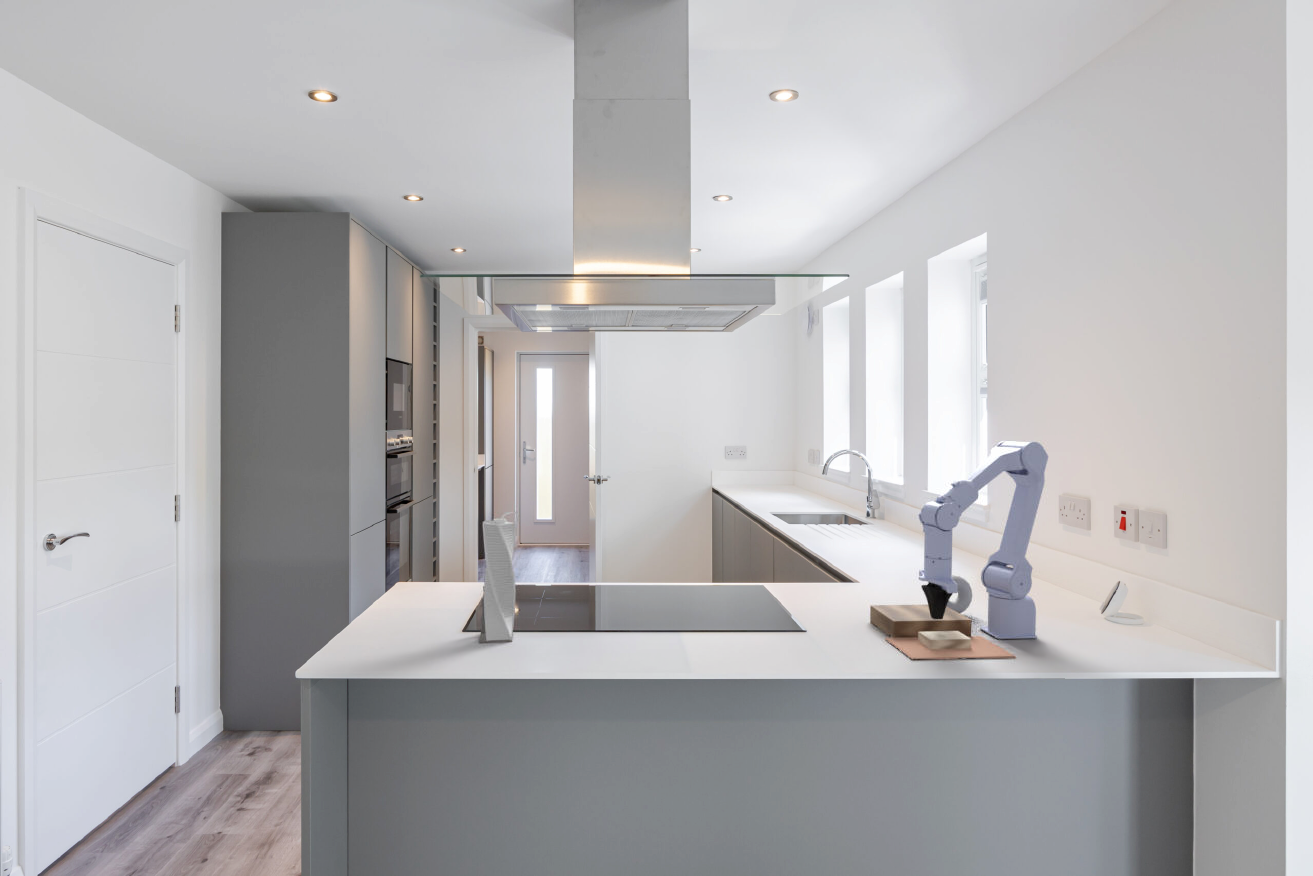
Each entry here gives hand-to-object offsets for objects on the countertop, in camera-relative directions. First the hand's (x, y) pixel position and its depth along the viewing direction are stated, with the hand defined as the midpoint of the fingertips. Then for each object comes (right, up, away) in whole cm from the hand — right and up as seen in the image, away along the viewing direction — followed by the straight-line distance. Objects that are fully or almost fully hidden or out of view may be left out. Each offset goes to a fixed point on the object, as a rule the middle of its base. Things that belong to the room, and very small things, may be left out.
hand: (936, 618), depth 166 cm
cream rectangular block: (0, -3, -4) cm, 5 cm away
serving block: (-1, -5, +9) cm, 10 cm away
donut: (+12, -5, +22) cm, 26 cm away
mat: (0, -5, -5) cm, 7 cm away
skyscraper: (-96, -5, 0) cm, 96 cm away
